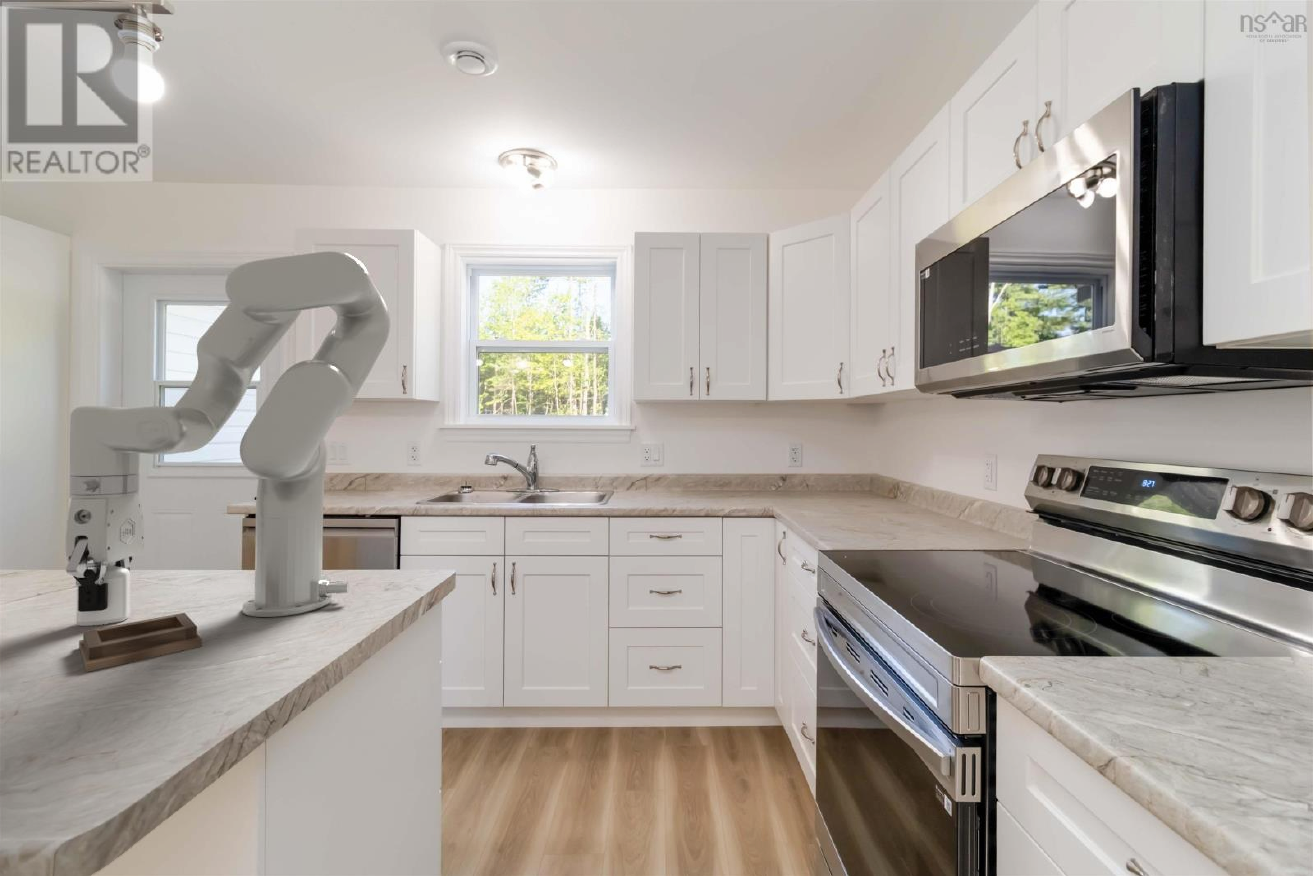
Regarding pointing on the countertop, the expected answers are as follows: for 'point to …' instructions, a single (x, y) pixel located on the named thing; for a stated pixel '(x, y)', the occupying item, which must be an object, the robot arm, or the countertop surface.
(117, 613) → the eye dropper bottle
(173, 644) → the pocket plate
